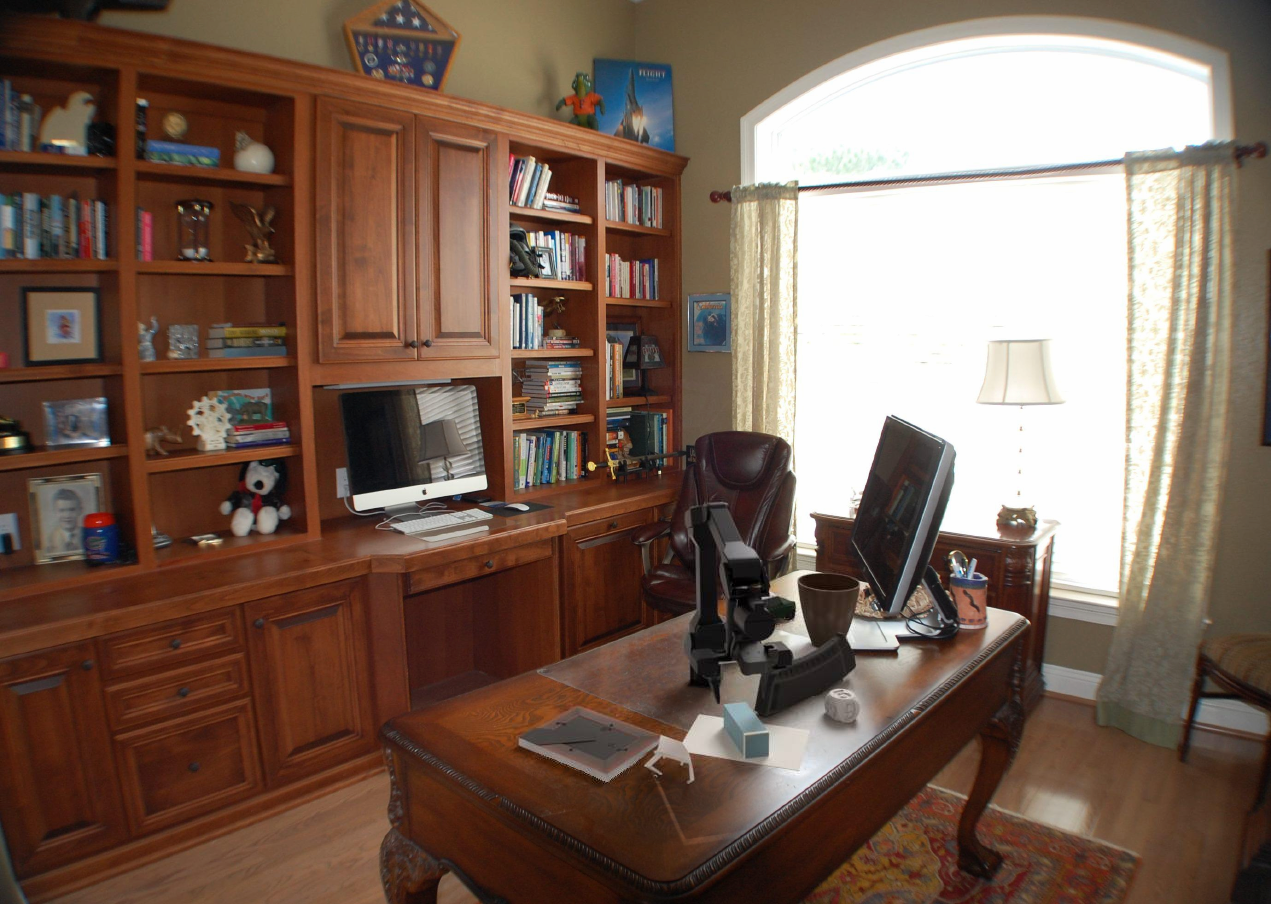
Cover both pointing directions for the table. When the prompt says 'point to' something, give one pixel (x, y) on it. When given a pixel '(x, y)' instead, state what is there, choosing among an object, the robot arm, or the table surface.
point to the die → (842, 705)
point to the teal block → (746, 730)
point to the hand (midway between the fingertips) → (741, 700)
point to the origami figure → (671, 754)
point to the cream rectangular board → (717, 742)
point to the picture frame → (590, 742)
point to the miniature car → (779, 606)
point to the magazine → (808, 676)
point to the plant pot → (827, 604)
